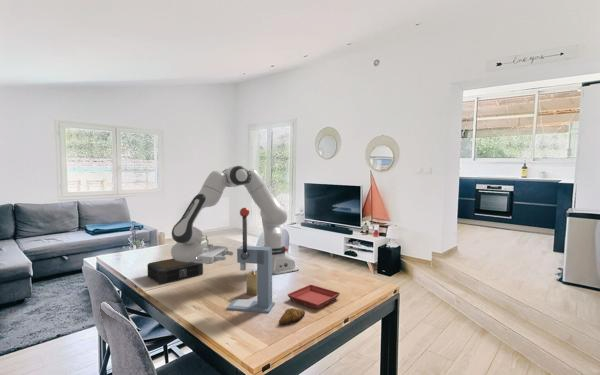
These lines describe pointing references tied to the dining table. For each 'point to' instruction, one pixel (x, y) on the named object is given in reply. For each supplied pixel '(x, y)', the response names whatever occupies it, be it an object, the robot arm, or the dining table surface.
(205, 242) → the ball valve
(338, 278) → the dining table surface
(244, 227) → the lever
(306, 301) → the plant saucer
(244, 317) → the dining table surface
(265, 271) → the press
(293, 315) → the croissant
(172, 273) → the cash box
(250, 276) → the block
